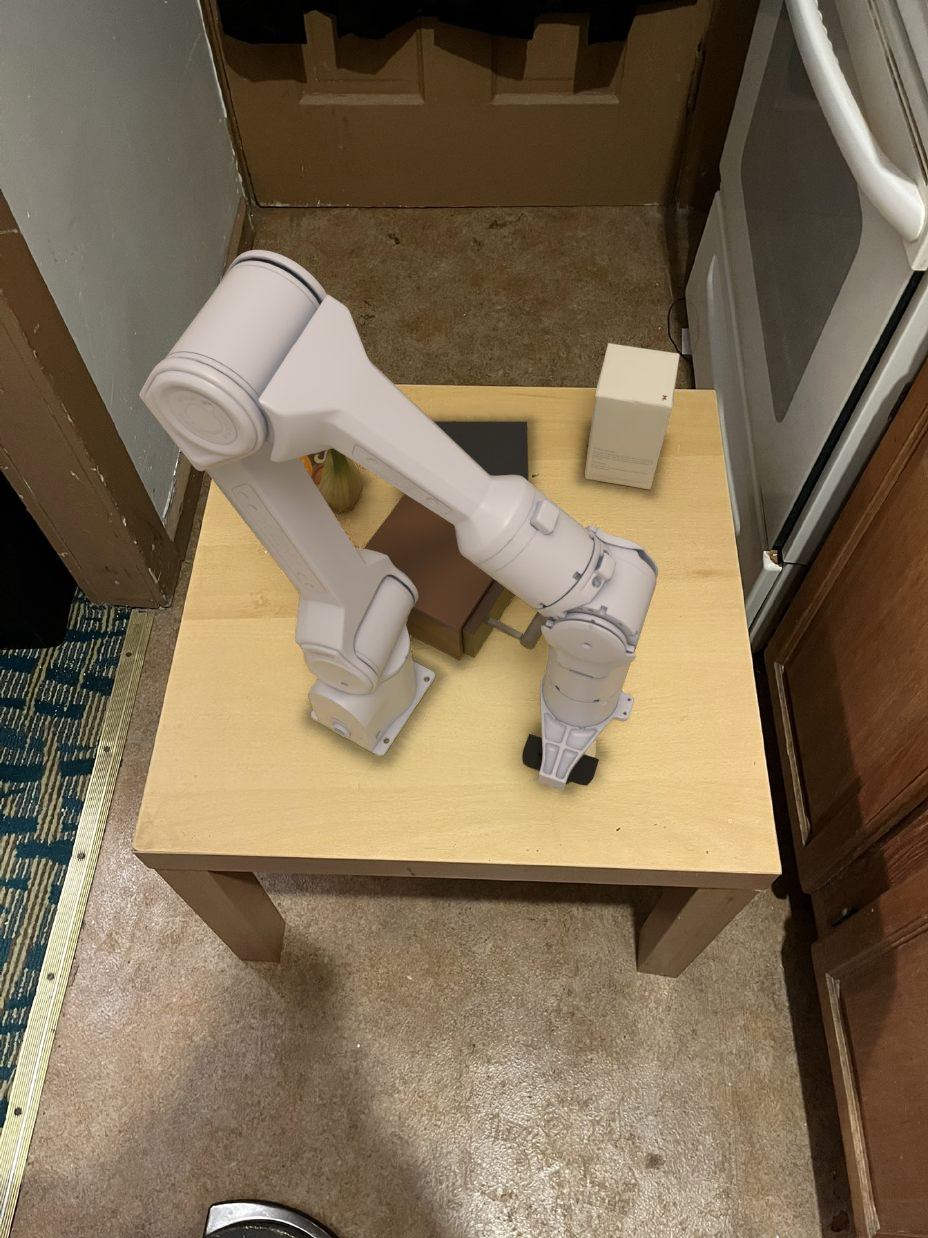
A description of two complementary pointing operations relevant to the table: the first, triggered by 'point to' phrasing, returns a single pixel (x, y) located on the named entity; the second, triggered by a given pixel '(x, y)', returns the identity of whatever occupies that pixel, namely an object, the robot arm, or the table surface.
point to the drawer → (488, 618)
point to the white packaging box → (630, 415)
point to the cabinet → (432, 573)
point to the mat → (492, 444)
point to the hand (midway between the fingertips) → (570, 736)
